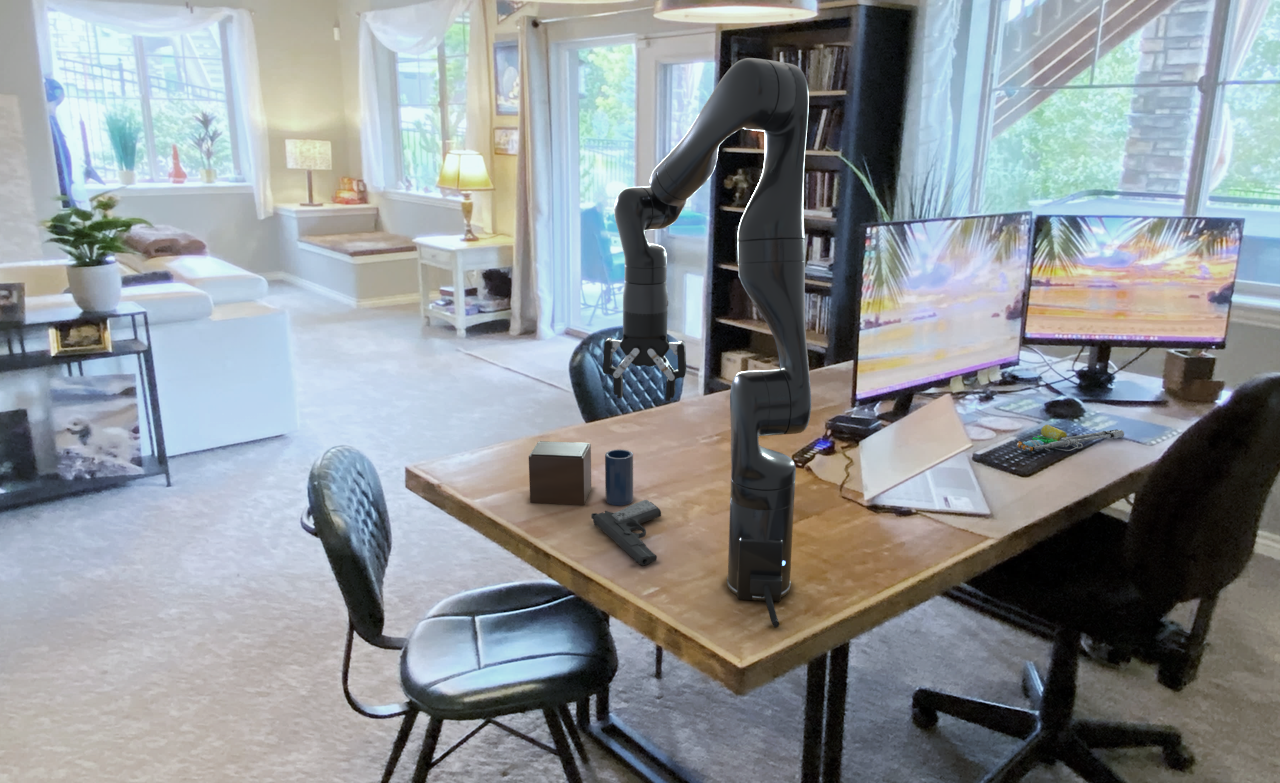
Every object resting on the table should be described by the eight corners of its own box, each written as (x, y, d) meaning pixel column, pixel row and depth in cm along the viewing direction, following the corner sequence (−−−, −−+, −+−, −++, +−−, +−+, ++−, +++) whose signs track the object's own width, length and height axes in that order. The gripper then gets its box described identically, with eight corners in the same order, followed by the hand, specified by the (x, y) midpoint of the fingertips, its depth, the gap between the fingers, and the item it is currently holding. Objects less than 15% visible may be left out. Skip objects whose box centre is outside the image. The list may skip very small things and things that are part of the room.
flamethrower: (998, 443, 198) (1035, 460, 190) (1000, 431, 198) (1037, 448, 189) (1093, 427, 211) (1131, 442, 202) (1095, 416, 210) (1134, 431, 201)
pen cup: (631, 506, 167) (631, 459, 164) (603, 505, 167) (603, 458, 165) (634, 495, 172) (634, 449, 169) (607, 494, 172) (607, 448, 170)
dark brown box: (584, 505, 167) (583, 457, 165) (530, 502, 168) (528, 454, 166) (591, 488, 175) (590, 442, 172) (539, 486, 176) (538, 440, 173)
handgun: (647, 509, 165) (586, 522, 160) (647, 497, 164) (586, 509, 159) (702, 554, 150) (637, 569, 144) (703, 541, 149) (637, 556, 143)
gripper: (599, 310, 153) (600, 403, 158) (685, 313, 152) (683, 407, 157) (607, 301, 160) (607, 390, 165) (689, 304, 159) (686, 393, 164)
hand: (644, 398), depth 161 cm, fingers open, 8 cm apart
